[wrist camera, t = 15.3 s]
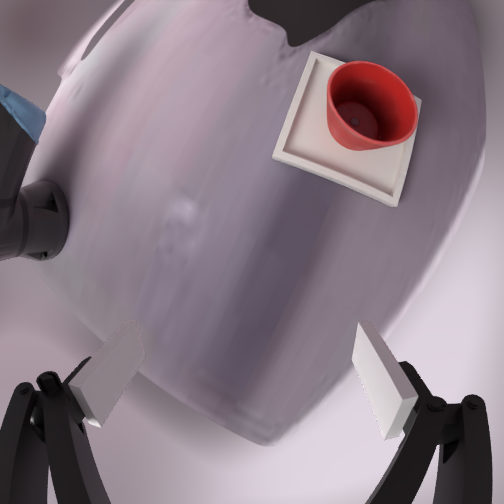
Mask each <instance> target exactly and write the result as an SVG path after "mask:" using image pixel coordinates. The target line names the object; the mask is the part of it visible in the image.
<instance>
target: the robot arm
mask: <svg viewBox="0 0 504 504" xmlns="http://www.w3.org/2000/svg"><path fill="white" fill-rule="evenodd" d="M45 123H46V114H45V112H44V110H42V109H41V108H40V107H38V106H36V105H35V104H33V103H32V102H30V101H28V100H27V99H25V98H23V97H22V96H20V95H19V94H17V93H15V92H13V91H12V90H10V89H8V88H7V87H5V86H3V85H1V84H0V261H2V260H6V259H10V258H14V257H24V258H27V259H32V260H36V261H44V260H48V259H52V258H54V257H55V256H57V255H58V253H59V252H60V251H61V249H62V247H63V245H64V243H65V240H66V236H67V231H68V209H67V204H66V200H65V197H64V195H63V193H62V191H61V189H60V188H59V187H58V186H57V185H56V184H55V183H53V182H49V181H37V182H34V183H32V184H29V185H27V186H24V187H22V188H21V185H22V182H23V179H24V176H25V173H26V170H27V168H28V165H29V162H30V160H31V157H32V155H33V152H34V150H35V148H36V145H38V143H39V137H40V135H41V132H42V130H43V128H44V125H45ZM145 358H146V356H145V352H144V348H143V344H142V340H141V336H140V332H139V328H138V324H137V321H132V320H126V321H125V322H124V323H123V324H122V325H121V326H120V327H119V328H118V329H117V331H116V332H115V333H114V334H113V335H112V336H111V337H110V338H109V339H108V340H107V341H106V342H105V343H104V345H103V346H102V347H101V348H100V349H99V350H98V351H97V352H96V353H95V354H94V355H93V357H88V358H86V359H85V360H83V361H82V362H81V363H80V364H79V365H78V367H76V368H75V369H74V371H73V372H72V373H71V374H70V375H69V376H68V377H67V378H66V379H65V380H64V382H63V383H61V381H60V378H59V376H58V374H57V373H56V372H52V371H47V372H44V373H42V374H41V375H39V377H38V378H37V380H36V382H37V384H38V386H39V388H40V390H41V391H36V390H35V389H34V387H33V385H32V384H31V383H29V382H24V383H20V384H19V385H18V386H17V387H16V388H15V390H14V393H13V395H12V397H11V400H10V403H9V406H8V408H7V411H6V414H5V417H4V420H3V423H2V426H1V429H0V504H47V488H48V486H47V485H48V469H49V466H50V471H51V477H52V481H53V486H54V490H55V494H56V498H57V502H58V504H111V502H110V500H109V498H108V496H107V493H106V491H105V488H104V486H103V483H102V480H101V478H100V475H99V472H98V469H97V467H96V463H95V461H94V457H93V454H92V451H91V447H90V444H89V440H88V437H87V433H86V429H85V425H84V423H83V421H82V420H83V418H84V417H86V418H87V420H88V422H89V424H92V425H95V426H98V427H102V426H103V424H104V422H105V421H106V419H107V418H108V416H109V414H110V413H111V411H112V409H113V408H114V406H115V405H116V403H117V402H118V400H119V398H120V397H121V395H122V394H123V392H124V390H125V389H126V387H127V386H128V384H129V382H130V381H131V379H132V378H133V376H134V375H135V373H136V372H137V370H138V369H139V367H140V366H141V364H142V362H143V361H144V359H145ZM352 361H353V364H354V366H355V368H356V371H357V373H358V376H359V378H360V380H361V383H362V385H363V387H364V390H365V393H366V395H367V398H368V400H369V403H370V405H371V408H372V410H373V413H374V415H375V418H376V421H377V423H378V426H379V428H380V431H381V434H382V437H383V439H384V440H387V439H391V438H395V437H398V436H399V435H400V433H401V431H402V429H403V430H404V433H405V437H404V439H403V440H402V442H401V444H400V445H399V447H398V451H397V452H396V454H395V456H394V458H393V460H392V462H391V463H390V465H389V467H388V469H387V471H386V472H385V474H384V475H383V477H382V479H381V480H380V482H379V484H378V485H377V487H376V488H375V490H374V492H373V493H372V494H371V496H370V497H369V499H368V500H367V502H366V503H365V504H412V502H413V500H414V498H415V496H416V494H417V492H418V490H419V488H420V486H421V483H422V481H423V479H424V476H425V474H426V472H427V470H428V467H429V464H430V462H431V460H432V457H433V455H434V452H435V449H436V446H437V445H440V449H439V462H438V472H437V480H436V487H435V494H434V500H433V504H492V453H491V442H490V432H489V425H488V418H487V412H486V406H485V403H484V400H483V399H482V398H481V397H479V396H477V395H473V394H472V395H467V396H465V397H464V399H463V400H462V402H461V403H458V404H447V403H446V401H445V400H444V399H442V398H440V397H437V396H433V395H432V394H431V393H430V391H429V389H428V388H427V386H426V385H425V383H424V382H423V380H422V379H421V377H420V376H419V374H417V371H416V370H415V368H414V367H413V366H412V365H411V364H409V363H408V362H406V361H404V362H397V360H396V359H395V357H394V356H393V354H392V353H391V351H390V350H389V348H388V346H387V345H386V343H385V342H384V340H383V339H382V337H381V336H380V334H379V333H378V331H377V330H376V328H375V327H374V325H373V324H372V322H371V321H361V322H358V327H357V334H356V340H355V345H354V351H353V356H352ZM30 420H31V421H30ZM30 422H31V423H30Z"/></svg>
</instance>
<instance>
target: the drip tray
mask: <svg viewBox="0 0 504 504" xmlns="http://www.w3.org/2000/svg"><path fill="white" fill-rule="evenodd" d="M343 64H345V63H344V62H342V61H339V60H336V59H333V58H331V57H328V56H325V55H322V54H319V53H316V52H313V51H311V53H310V56H309V59H308V61H307V64H306V66H305V69H304V72H303V74H302V77H301V80H300V82H299V85H298V88H297V90H296V93H295V96H294V98H293V101H292V104H291V106H290V109H289V112H288V114H287V117H286V120H285V122H284V125H283V128H282V131H281V133H280V136H279V139H278V141H277V144H276V147H275V150H274V152H273V155H272V158H273V159H274V160H277V161H280V162H282V163H285V164H288V165H291V166H294V167H297V168H299V169H302V170H305V171H307V172H310V173H313V174H315V175H318V176H320V177H323V178H325V179H328V180H330V181H333V182H335V183H338V184H340V185H343V186H345V187H347V188H350V189H352V190H354V191H357V192H359V193H361V194H364V195H366V196H368V197H370V198H372V199H375V200H377V201H379V202H381V203H383V204H385V205H388V206H390V207H397V205H398V202H399V198H400V195H401V191H402V188H403V184H404V181H405V177H406V173H407V169H408V166H409V162H410V157H411V153H412V149H413V144H414V140H415V135H416V130H417V126H416V129H415V131H414V133H413V134H412V135H411V136H410V137H409V138H408V139H407V140H406V141H404V142H402V143H400V144H397V145H393V146H389V147H384V148H378V149H373V150H364V151H354V150H350V149H347V148H345V147H343V146H341V145H340V144H339V143H338V142H336V141H335V139H334V138H333V137H332V135H331V133H330V131H329V129H328V124H327V83H328V80H329V77H330V75H331V74H332V72H333V71H334V70H335V69H336V68H337V67H339V66H341V65H343ZM413 96H414V95H413ZM414 99H415V101H416V104H417V109H418V119H419V114H420V108H421V102H422V100H421V99H419V98H418V97H416V96H414ZM417 125H418V123H417Z"/></svg>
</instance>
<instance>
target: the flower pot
mask: <svg viewBox="0 0 504 504" xmlns="http://www.w3.org/2000/svg"><path fill="white" fill-rule="evenodd" d="M417 123H418V109H417V104H416V101H415V99H414V96H413V94H412V92H411V91H410V89H409V88H408V86H407V85H406V84H405V83H404V82H403V81H402V80H401V79H400V78H399V77H398V76H397V75H396V74H395V73H393V72H392V71H390V70H389V69H387V68H385V67H383V66H381V65H378V64H375V63H372V62H367V61H352V62H348V63H345V64H343V65H341V66H339V67H337V68H336V69H335V70H334V71H333V72H332V74H331V75H330V77H329V80H328V83H327V124H328V129H329V131H330V133H331V135H332V137H333V138H334V139H335V141H336V142H338V143H339V144H340V145H341V146H343V147H345V148H347V149H350V150H354V151H364V150H373V149H378V148H384V147H389V146H393V145H397V144H400V143H402V142H404V141H406V140H407V139H408V138H409V137H410V136H411V135H412V134H413V133H414V131H415V129H416V126H417Z"/></svg>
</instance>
